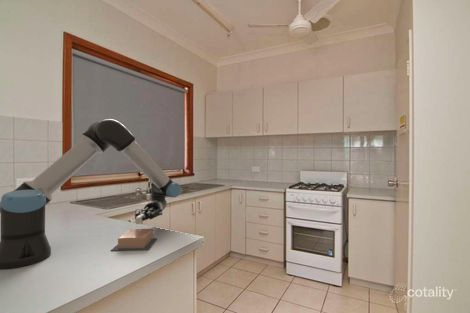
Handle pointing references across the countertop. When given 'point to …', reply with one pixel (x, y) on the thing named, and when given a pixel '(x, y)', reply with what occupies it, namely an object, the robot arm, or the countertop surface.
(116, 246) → the mat
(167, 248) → the countertop surface
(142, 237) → the tile
